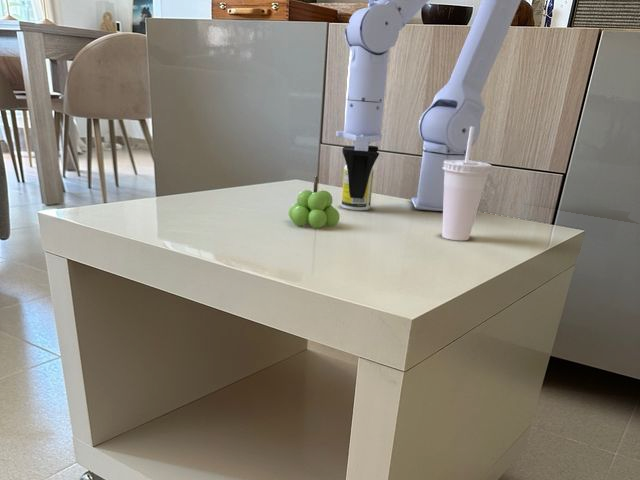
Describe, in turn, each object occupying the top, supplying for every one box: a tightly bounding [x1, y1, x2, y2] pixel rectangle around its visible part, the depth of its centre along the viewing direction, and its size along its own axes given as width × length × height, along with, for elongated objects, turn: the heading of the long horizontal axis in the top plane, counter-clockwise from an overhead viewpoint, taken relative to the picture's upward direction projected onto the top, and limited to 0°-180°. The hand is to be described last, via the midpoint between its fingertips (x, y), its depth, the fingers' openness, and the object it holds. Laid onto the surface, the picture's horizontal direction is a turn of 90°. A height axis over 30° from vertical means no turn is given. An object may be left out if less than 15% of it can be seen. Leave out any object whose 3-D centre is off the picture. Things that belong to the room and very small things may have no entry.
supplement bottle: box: [341, 164, 374, 211], centre depth 101 cm, size 5×5×8 cm
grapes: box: [288, 175, 341, 229], centre depth 87 cm, size 7×7×6 cm
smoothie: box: [441, 127, 493, 242], centre depth 84 cm, size 6×6×14 cm
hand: (356, 195), depth 102 cm, fingers closed on supplement bottle, 5 cm apart
